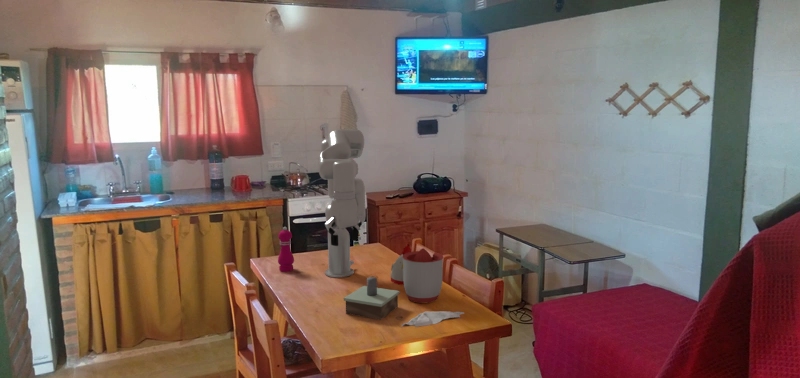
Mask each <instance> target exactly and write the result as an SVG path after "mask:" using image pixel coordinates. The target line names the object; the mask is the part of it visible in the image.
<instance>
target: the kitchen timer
mask: <svg viewBox="0 0 800 378" xmlns="http://www.w3.org/2000/svg"><path fill="white" fill-rule="evenodd" d="M402 250H403V251H401V255H399V256H398V257H397V259H396V260H395V261H394V263H392V264H391V269H390V270H391V272H390V282H392V283H393V284H395V285H399V286H400V285H401V286H404V280H403V255H404V254H406V253H409V252H412V249H411V247H410V246H409V245H405V246H404V247H403V249H402Z"/></svg>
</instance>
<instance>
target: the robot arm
mask: <svg viewBox="0 0 800 378" xmlns="http://www.w3.org/2000/svg"><path fill="white" fill-rule="evenodd" d="M327 137H328V138H326V139H324V140H323V141H321V144H320V150H321V153H320V154H319V157H318V174H319V176H320V178H321V179H322V180H325V181H326V180H327V193H328V197H329V198H330V199H331V204H328V205H326V207H325V211H324V212H325V213H324V214H325V220H326V222H325V223H324V226H325V228H326V231H327V251H328V252H327V253H328V256H327V258H328V259H327V260H328V268H327V269H325V272H324V273H325V274H324V275H326V276H327V277H329V278H346V277H347V278H348V277H349V276H352V275H353V274H354V269H353V268H351V266H352V265H354V264H355V261H354V260H351V249H350V248H351V247H350V246H351V245H350V244H351V242H350V239H351V241H353V242H359V240H360V239H359V231H360V230H361V227H362V224H363V223H364V222H365V221H366V214H367V213H366V212H367V211H366V189H365V184H364V183H365V182H364V181H363V180H362V179H361V178H359V177H356V176H357V175H358V173H359V166H358V163H357V162H356V160H354V159H358V158H360V157H361V156H362V154H363V151H364V146H365V137H364V133H363V132H362V131H361V130H360V129H357V128H355V129H354V128H353V129H352V128H351V129H350V128H349V129H347V128H346V129H345V128H344V129H338V128H337V129H334V130H332V131H331V132H330V133H329V134H328V136H327ZM348 228H351V231H350V233H351V236H350V233H349V231H348V230H347V229H348Z"/></svg>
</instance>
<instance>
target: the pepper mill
mask: <svg viewBox="0 0 800 378" xmlns="http://www.w3.org/2000/svg"><path fill="white" fill-rule="evenodd" d="M292 238H293V234H292V231H290V230H289V229H288V227H286V226H284V227H282V230H280V232H278V240H279V245H280V252H279V255H278V258H277V263H278V265H279V266H278V268H279V269H278V270H279V271H280V272H283V273H284V272H285V273H288V272H292V271H294V265H293V264H294V263H295V257H294V255H293V252H292V250H291V244H292V241H291V239H292Z"/></svg>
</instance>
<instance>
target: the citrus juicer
mask: <svg viewBox="0 0 800 378" xmlns="http://www.w3.org/2000/svg"><path fill="white" fill-rule="evenodd" d="M443 259H444V255H443V254H441V253H439V252H436V251H435V252H434V253H433V254H432V256H431V254H430V253H429V252H428V250H427V249H425V248H424V247H423V248H421V249H420V250H417V251H411V252H409V253H406V254H404V255H403V280H404V285H403V286H404V291H405V294H406V297H407V298H408V300H409V301H411V302H414V303H417V304H418V303H423V304H425V303H426V304H430V303H433V302H436V301H437V300H438V299H439V297H440V294H441V290H442V288H443V287H442V286H443V278H444V277H443V269H444V267H443V264H444V263H443V262H444V260H443Z"/></svg>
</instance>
